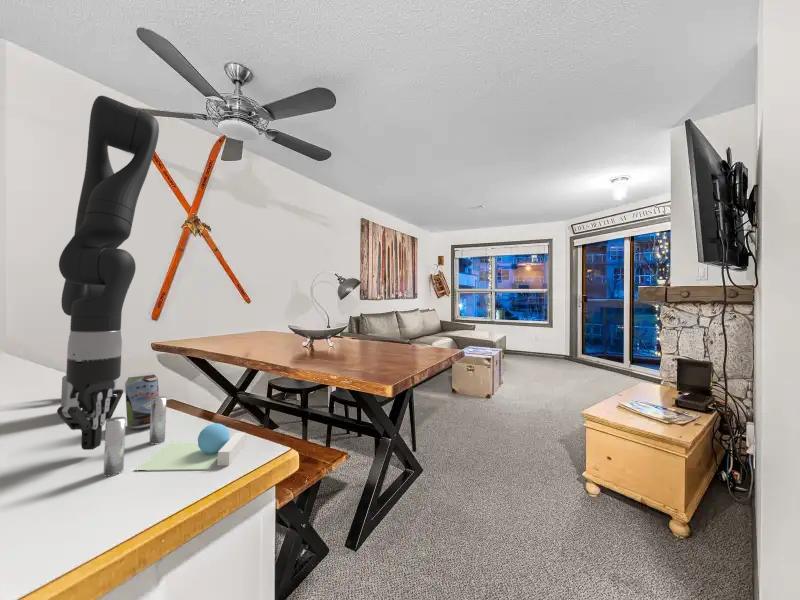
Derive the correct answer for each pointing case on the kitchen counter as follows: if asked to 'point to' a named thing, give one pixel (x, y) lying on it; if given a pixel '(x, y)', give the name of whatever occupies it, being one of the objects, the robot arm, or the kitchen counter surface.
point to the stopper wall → (231, 449)
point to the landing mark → (179, 458)
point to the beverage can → (140, 399)
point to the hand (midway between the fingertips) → (91, 447)
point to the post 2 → (158, 419)
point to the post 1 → (114, 445)
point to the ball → (213, 438)
